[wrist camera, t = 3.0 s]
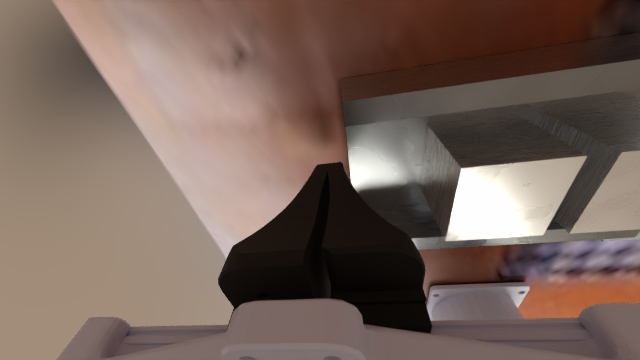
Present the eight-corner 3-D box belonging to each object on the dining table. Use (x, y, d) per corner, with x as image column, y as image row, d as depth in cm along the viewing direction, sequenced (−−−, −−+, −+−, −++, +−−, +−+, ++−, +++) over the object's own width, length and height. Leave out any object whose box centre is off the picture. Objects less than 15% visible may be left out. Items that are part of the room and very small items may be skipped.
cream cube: (493, 180, 14) (543, 235, 10) (420, 187, 14) (445, 241, 11) (515, 112, 11) (587, 155, 8) (426, 124, 12) (461, 168, 9)
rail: (578, 193, 15) (635, 237, 12) (354, 211, 17) (358, 253, 14) (679, 25, 10) (816, 33, 7) (340, 78, 12) (341, 102, 9)
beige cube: (594, 171, 13) (680, 226, 10) (512, 178, 13) (569, 233, 10) (638, 97, 11) (770, 137, 7) (538, 109, 11) (622, 152, 8)
